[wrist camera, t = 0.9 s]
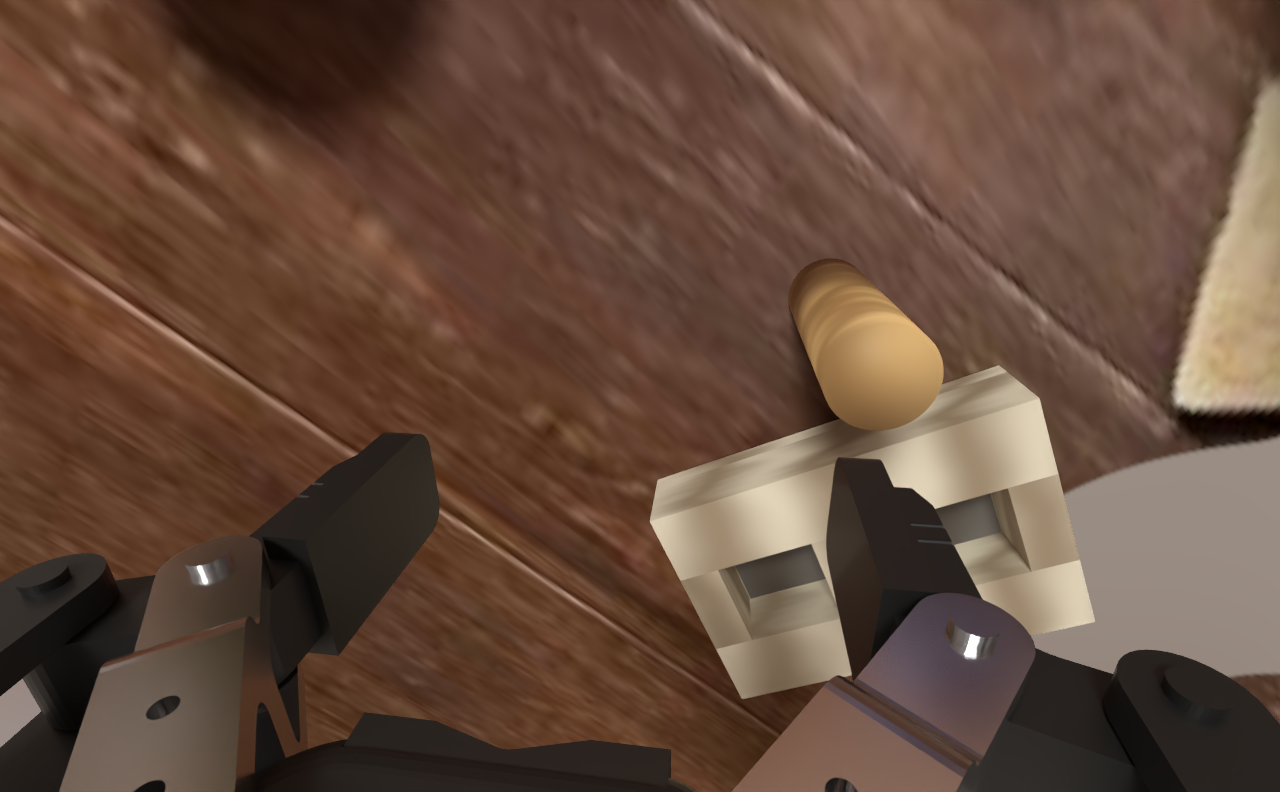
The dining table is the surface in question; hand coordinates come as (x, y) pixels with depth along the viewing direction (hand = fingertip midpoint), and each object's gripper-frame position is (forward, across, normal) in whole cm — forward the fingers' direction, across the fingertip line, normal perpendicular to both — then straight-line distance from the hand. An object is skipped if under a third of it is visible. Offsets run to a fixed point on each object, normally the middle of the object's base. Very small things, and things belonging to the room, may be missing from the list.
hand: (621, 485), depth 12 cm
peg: (+22, -7, +2) cm, 24 cm away
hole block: (+22, -10, +16) cm, 29 cm away
